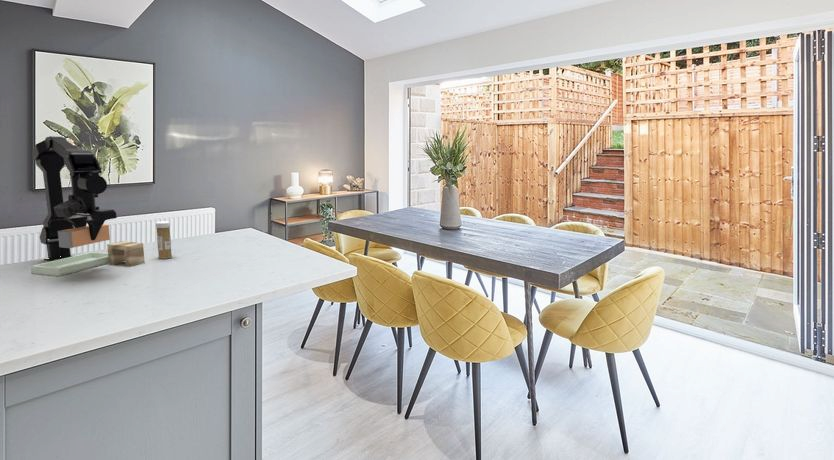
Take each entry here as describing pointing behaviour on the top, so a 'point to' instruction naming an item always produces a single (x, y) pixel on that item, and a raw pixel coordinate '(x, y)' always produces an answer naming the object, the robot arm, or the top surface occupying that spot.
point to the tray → (71, 264)
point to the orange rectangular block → (81, 236)
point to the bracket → (125, 253)
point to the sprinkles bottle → (163, 239)
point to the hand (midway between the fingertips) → (87, 239)
